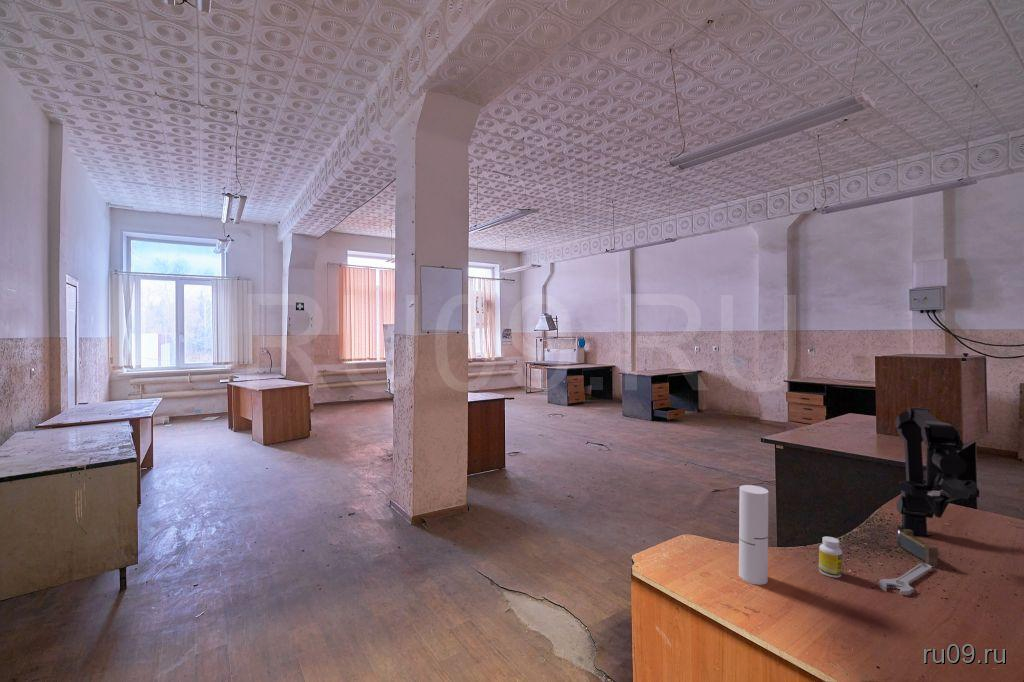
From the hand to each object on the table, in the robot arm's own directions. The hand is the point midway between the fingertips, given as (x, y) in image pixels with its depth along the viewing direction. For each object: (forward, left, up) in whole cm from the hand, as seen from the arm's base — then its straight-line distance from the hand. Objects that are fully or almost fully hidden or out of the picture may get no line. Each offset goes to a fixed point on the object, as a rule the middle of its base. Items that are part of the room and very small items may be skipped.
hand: (937, 517), depth 138 cm
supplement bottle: (+11, -37, -13) cm, 41 cm away
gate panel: (-3, -5, -12) cm, 14 cm away
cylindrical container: (+15, -60, -13) cm, 63 cm away
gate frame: (-2, -4, -13) cm, 14 cm away
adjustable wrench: (+13, -17, -14) cm, 25 cm away
